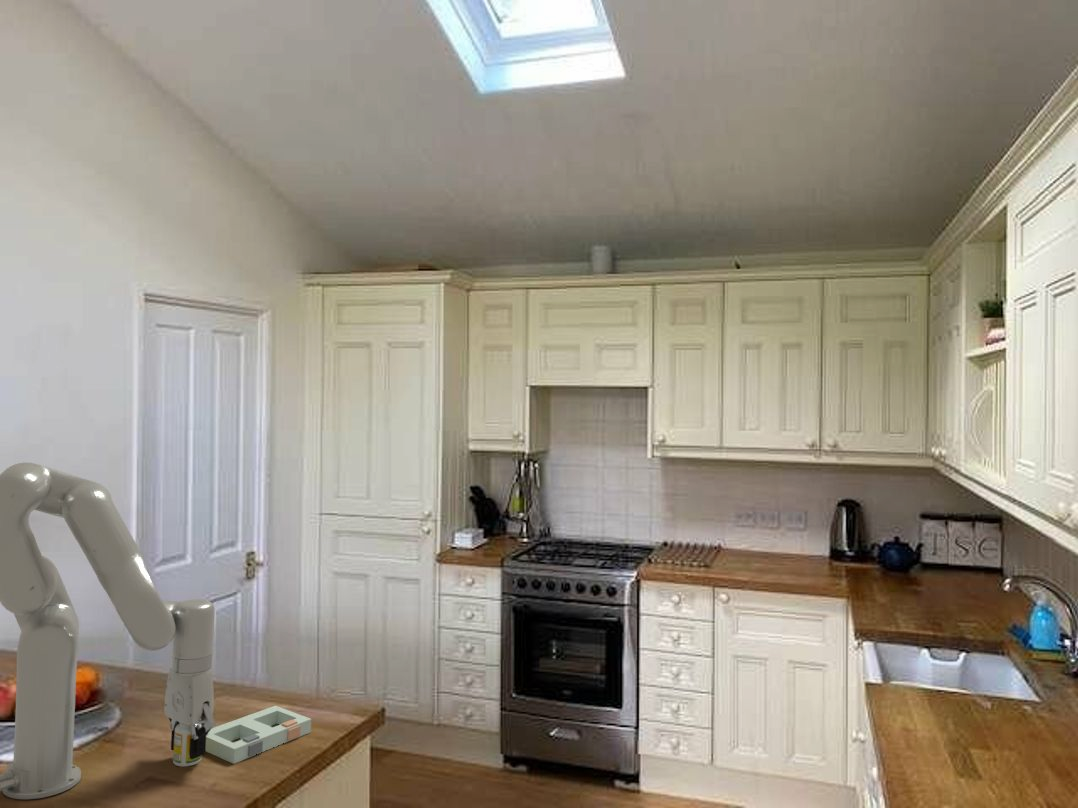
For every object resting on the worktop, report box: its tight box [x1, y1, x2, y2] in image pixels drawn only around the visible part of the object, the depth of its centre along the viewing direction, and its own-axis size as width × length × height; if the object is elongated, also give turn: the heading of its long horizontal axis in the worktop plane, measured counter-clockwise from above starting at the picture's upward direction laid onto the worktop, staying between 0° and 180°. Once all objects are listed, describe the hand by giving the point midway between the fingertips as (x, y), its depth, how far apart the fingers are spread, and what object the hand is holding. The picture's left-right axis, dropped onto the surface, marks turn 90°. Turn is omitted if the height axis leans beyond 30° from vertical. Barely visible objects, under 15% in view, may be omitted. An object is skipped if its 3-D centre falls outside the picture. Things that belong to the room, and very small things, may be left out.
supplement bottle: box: [172, 718, 203, 767], centre depth 164 cm, size 5×5×10 cm
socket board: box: [205, 705, 312, 764], centre depth 176 cm, size 20×12×3 cm, turn 147°
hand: (188, 751), depth 164 cm, fingers closed on supplement bottle, 5 cm apart
